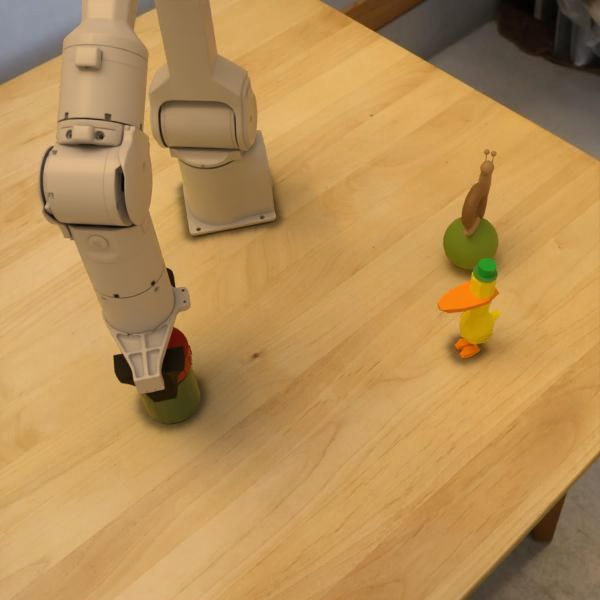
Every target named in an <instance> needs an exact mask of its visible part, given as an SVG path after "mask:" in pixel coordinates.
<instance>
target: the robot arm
mask: <svg viewBox="0 0 600 600" xmlns="http://www.w3.org/2000/svg"><path fill="white" fill-rule="evenodd" d="M80 2H81V3H80V4H81V6H80V7H81V8H80V9H81V22H80V23H79V25H78V26H76V27H75V28H74V29H73V30H72V31H71V32H70V33H69V34H67V35H66V36H65V37H64V39H63V41H62V54H61V68H60V78H59V79H60V80H59V91H58V93H59V94H58V107H57V122H56V123H57V124H56V134H55V139H56V141H57V142H55V144H54V145H49V146H48V147H46V149H44V151H43V153H42V156H41V157H40V161H39V165H38V170H37V171H38V173H37V186H38V187H37V189H38V195H39V198H40V200H39V201H40V203H41V209H40V210H41V213H42V215H43V217H44V219H46V221H47V222H48V223H49V224H51V225H54V226H58V228H59V229H60V232H61V233H62V236H63V239H69V240H70V241H73V242H74V245H75V247H76V249H77V252H78V254H79V257H80V259H81V261H82V263H83V266H84V269H85V271H86V274H87V277H88V278H89V281H90V283H91V286H92V288H93V291H94V293H95V295H96V298H97V301H98V303H99V305H100V308H101V315H102V320H103V322H104V324H105V326H106V328H107V330H108V332H109V333H110V335H111V337H112V338H113V340H114V342H115V343H116V345H117V346H118V348H119V350H120V353H118V354H117V353H116V354H113V355H112V356H113V369H114V370H113V371H114V374H115V377H116V378H117V380H118V382H119V383H120V384H123V385H129V386H133V387H135V388H136V391H137V393H138V394H139V395H140V394H143V393H145V394H146V395H147V396H148V397H149V398H150V399H151V400H152V401H154V402H160V401H165V400H170V399H175V398H176V397H177V394H178V377H179V375H180V373H181V372H182V371H183V370H184V367H185V354H184V346H183V345H182V346H177V347H172V348H167V346H168V343H169V339H170V336H171V333H172V330H173V327H175V323H176V320H177V316H178V315H179V313H181V312H186V311H188V310H190V309H191V306H192V305H191V304H192V303H191V298H190V292H189V289H188V288H187V287H186V286H178V287H176V281H175V280H176V279H175V275H174V271H173V270H172V269H171V268H169V267H166V266H167V265H166V263H165V260H164V257H163V253H162V249H161V246H160V243H159V239H158V236H157V233H156V229H155V226H154V223H153V219H152V216H151V212H150V207H151V203H152V197H153V196H152V195H153V187H154V186H153V184H154V183H153V182H154V181H153V179H154V178H153V167H152V160H151V151H150V149H151V148H150V147H151V142H150V136H149V135H148V134H146V133H145V132H144V127H145V126H144V125H145V112H146V100H147V99H146V98H147V95H148V100H149V101H148V102H149V108H150V109H149V119H150V120H149V121H150V122H149V123H150V129H151V135H152V137H153V139H154V140H155V142H156V143H157V145H158V146H159V147H160V148H162V149H168V150H169V154H170V157H171V158H176V159H177V163H178V167H179V171H180V174H181V178H182V179H181V180H182V182H183V185H182V191H183V199H184V205H185V211H186V218H187V224H188V230H189V234H190V235H191V236H192V237H195V236H201V235H205V234H210V233H217V232H221V231H226V230H232V229H233V230H234V229H238V228H242V227H249V226H253V225H259V224H264V223H269V222H273V221H275V220H276V219H277V215H276V210H275V203H274V195H273V190H274V182H273V178H272V173H271V172H270V166H269V160H268V155H267V150H266V149H267V148H266V144H265V140H264V136H263V133H262V130H261V129H258V103H257V97H256V94H255V93H254V90H253V87H252V81H251V78H250V77H249V72H248V70H247V69H245V68H244V67H242V66H240V65H239V64H237V63H235V62H233V61H231V60H230V59H228V58H227V57H225V56H223V55H221V54H219V53H218V49H217V42H216V36H215V29H214V21H213V15H212V9H211V3H210V0H154V1H153V2H154V5H155V10H156V16H157V21H158V26H159V30H160V36H161V40H162V46H163V49H164V50H163V51H164V55H165V61H166V63H165V64H163V65H161V66H160V67H159V68H158V69H157V70H156V71H155V73H154V75H153V77H152V79H151V83H150V85H149V88H148V94H147V85H148V83H147V82H148V68H149V64H148V63H149V56H150V53H149V49H148V48H147V46H146V45H145V44H144V42H143V41H142V40H141V39H140V38H139V36H138V35H137V33H136V31H135V27H136V20H137V13H138V7H139V2H140V0H81V1H80Z"/></svg>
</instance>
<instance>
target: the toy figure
mask: <svg viewBox="0 0 600 600" xmlns="http://www.w3.org/2000/svg"><path fill="white" fill-rule="evenodd" d="M497 269H498V265H497V262H496V260H494V259H490V258H483V259H481V260H480V261H479V263H478V265H476V266H475V267H474V268H473V269H472V272H471V276H470V280H469V281H465V282H464V283H461V284H459V285H456V286H455V287H453V288H451V289H449V290H448V291H447V292H446V293H444V294H443V295H442V296H441V297H440V299H439V300H438V301H437V303H436V305H437V308H438V310H439V311H442V312H444V313H446V314H456V313H461V315H460V316H459V318H460V319H459V326H458V327H459V335H460V337H462V338H459V339H458V340H457V342H456V343H454V347H455V350H456V351H459V353H458V355H459V356H460V357H461V359H469V358H471V357H473V356H475V355H476V354H479V352H480V351H481V348H480V347H479V344H484V343H486V342H487V341H489V340H491V339H492V337H493V334H494V331H493V330H494V325H495V324H496V321H498V318H499V316H501V314H502V312H503V309H497V310H489V309H490V307H491V304H492V301H493V300H494V299H495V298H497V296H499V295H500V292H499V290H498V289H497V287H496V286H497V285H496V284H497V278H498V276H499V274H498V273H499V272H498V270H497Z"/></svg>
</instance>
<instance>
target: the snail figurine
mask: <svg viewBox="0 0 600 600" xmlns="http://www.w3.org/2000/svg"><path fill="white" fill-rule="evenodd" d="M483 153H484V155H485V159H484V161H483V162H482V163H481V164H480V168H479V169H480V173H479V177H478V181H477V182H476V183H474V184H473V185H472V186H471V187H470V189H469V191H468V193H467V194H466V196H465V199H464V201H463V205H462V209H461V216H460V217H458V218H456V219H454V220H453V221H452V222H451V223H450V224H449V225H448V226H447V228H446V230H445V232H444V235H443V239H442V247H443V250H444V251H443V252H444V253H445V255H446V257H447V259H448V260H449V261H450V262H451V263H452V264H453V265H455V266H457V268H460V269H464V270H473V268H474V267H475V266H476V265H478V263H479V261H480V260H481V259H483V258H490V259H492V260H494V257H495V256H496V254H497V252H498V248H499V236H498V232H497V230H496V228H495V227H494V225H493V224H492V222H490V221H489V220H488V219H486V218H484V217H485V214H486V209H487V206H488V198H489V194H490V190H491V186H492V178H493V177H492V176H493V173H494V170H495V165H494V157H496V156H497V151H496V150H492V151H490V150H489V149H488V148H486V149H484V150H483ZM488 155H490V156H491V157H492V159H491V160H489V159H487V158H488Z"/></svg>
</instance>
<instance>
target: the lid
mask: <svg viewBox="0 0 600 600" xmlns="http://www.w3.org/2000/svg"><path fill="white" fill-rule="evenodd" d="M182 345H183V346H184V354H185V367H184V370H183V371H182V372H181V373H180V375H179V377H178V383H179V382H180V381H181V380H182V379H183V378H184V377H185V376H187V373H188V372H189V370H190V367H191V365H192V366H193V351H192V348H191V345H190V344H189V342H188V339H187V337H186V335H185V334H184V332H182V331H181V330H180V329H178V328H177V327H175V326H173V330H172V333H171V336H170V339H169V343H168V346H167V348H172V347H177V346H182Z"/></svg>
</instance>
